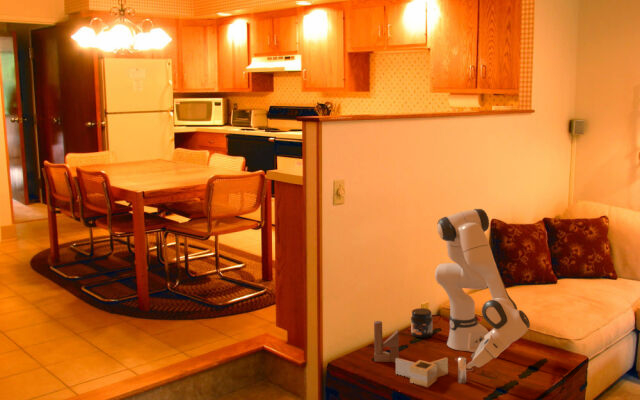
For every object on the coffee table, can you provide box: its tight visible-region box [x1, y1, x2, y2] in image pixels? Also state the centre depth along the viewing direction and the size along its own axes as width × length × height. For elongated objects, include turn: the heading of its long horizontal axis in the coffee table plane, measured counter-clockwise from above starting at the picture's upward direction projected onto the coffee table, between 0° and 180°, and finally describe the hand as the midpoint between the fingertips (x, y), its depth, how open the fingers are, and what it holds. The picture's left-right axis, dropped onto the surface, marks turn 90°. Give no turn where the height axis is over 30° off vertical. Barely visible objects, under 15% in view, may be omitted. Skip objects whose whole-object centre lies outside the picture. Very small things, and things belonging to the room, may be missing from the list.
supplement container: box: [410, 307, 433, 339], centre depth 306 cm, size 10×10×12 cm
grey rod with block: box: [373, 320, 400, 363], centre depth 277 cm, size 4×11×18 cm, turn 81°
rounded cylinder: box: [457, 356, 467, 384], centre depth 254 cm, size 3×3×10 cm
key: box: [454, 356, 475, 373], centre depth 272 cm, size 6×1×15 cm
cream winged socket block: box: [394, 356, 449, 388], centre depth 262 cm, size 18×16×7 cm
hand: (470, 362), depth 252 cm, fingers open, 8 cm apart
